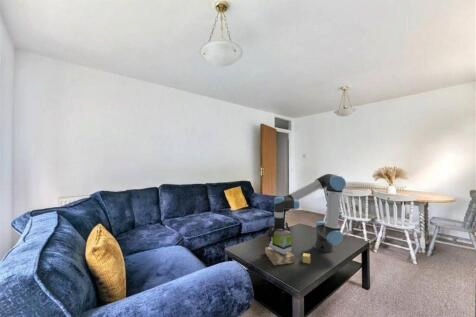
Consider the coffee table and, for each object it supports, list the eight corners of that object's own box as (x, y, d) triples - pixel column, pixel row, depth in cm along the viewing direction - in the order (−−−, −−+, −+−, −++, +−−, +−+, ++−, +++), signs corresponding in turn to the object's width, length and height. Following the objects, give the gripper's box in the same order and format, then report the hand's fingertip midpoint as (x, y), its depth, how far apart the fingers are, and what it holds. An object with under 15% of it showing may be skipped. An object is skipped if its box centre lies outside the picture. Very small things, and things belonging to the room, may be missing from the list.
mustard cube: (310, 260, 156) (310, 254, 156) (309, 263, 151) (309, 256, 152) (303, 259, 158) (303, 252, 158) (302, 262, 153) (302, 255, 154)
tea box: (292, 250, 157) (291, 231, 157) (283, 254, 151) (282, 234, 151) (277, 244, 169) (277, 226, 169) (268, 247, 163) (268, 228, 163)
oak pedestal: (283, 251, 172) (283, 245, 172) (294, 262, 153) (294, 255, 153) (265, 253, 168) (265, 247, 168) (274, 265, 150) (274, 258, 150)
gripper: (291, 214, 167) (291, 241, 167) (262, 216, 162) (262, 243, 162) (295, 217, 160) (295, 244, 160) (266, 219, 154) (266, 247, 154)
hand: (279, 244), depth 161 cm, fingers closed on tea box, 12 cm apart
